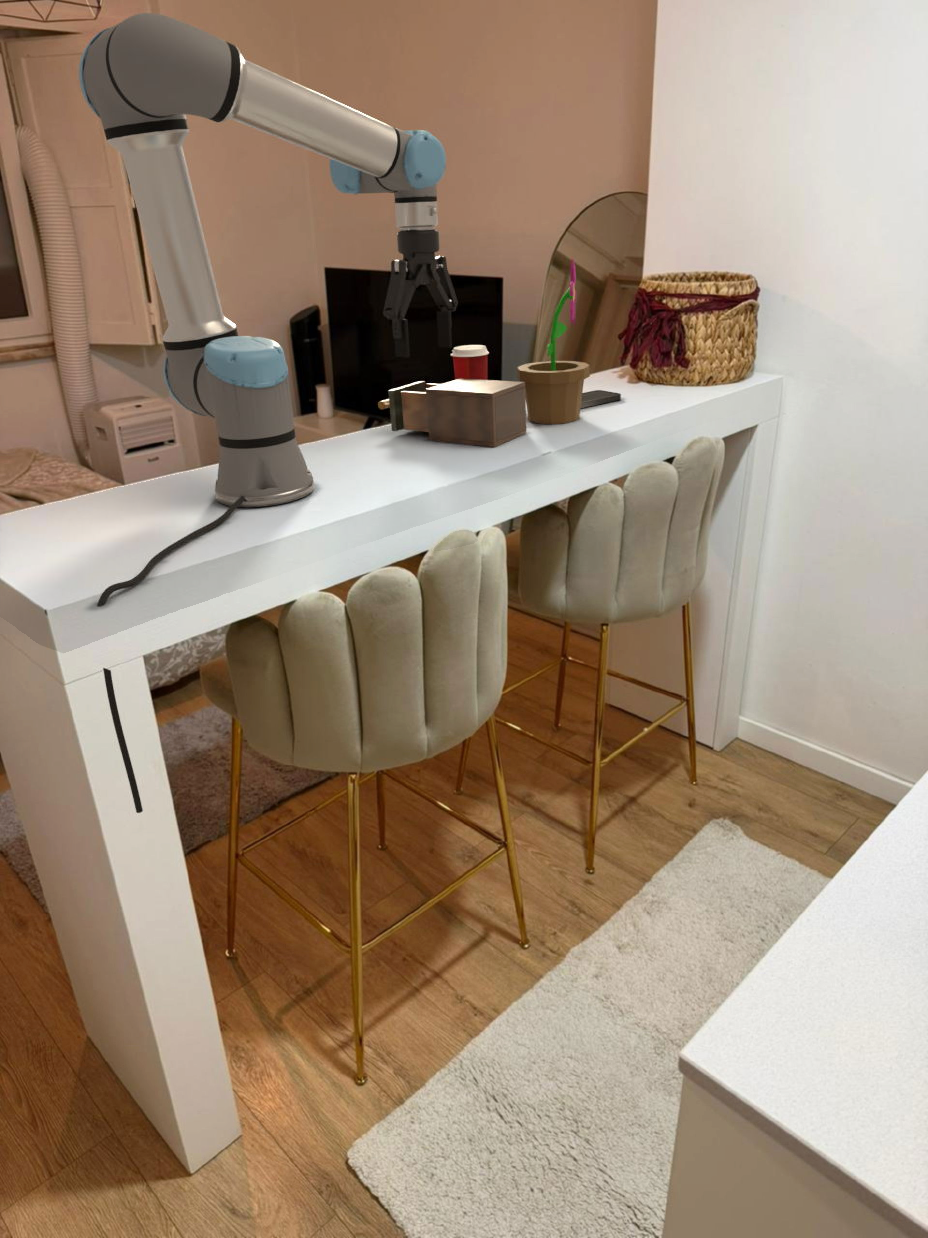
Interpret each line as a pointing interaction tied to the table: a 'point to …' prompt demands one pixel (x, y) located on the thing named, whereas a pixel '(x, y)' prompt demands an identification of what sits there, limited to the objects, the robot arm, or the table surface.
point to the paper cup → (470, 362)
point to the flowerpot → (555, 376)
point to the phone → (598, 398)
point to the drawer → (408, 407)
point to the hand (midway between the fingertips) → (424, 351)
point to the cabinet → (476, 411)
